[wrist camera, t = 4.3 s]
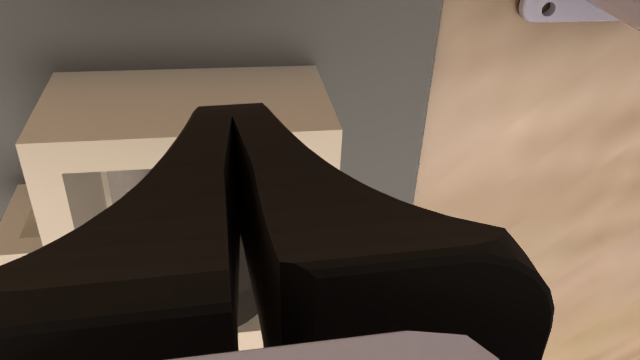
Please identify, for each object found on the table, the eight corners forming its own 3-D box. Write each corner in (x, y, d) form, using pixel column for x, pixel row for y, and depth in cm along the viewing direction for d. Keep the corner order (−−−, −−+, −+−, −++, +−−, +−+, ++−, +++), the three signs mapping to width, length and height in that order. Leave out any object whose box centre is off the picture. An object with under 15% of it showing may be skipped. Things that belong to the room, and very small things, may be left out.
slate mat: (444, -38, 21) (448, -35, 20) (395, 299, 29) (398, 305, 29) (-126, -39, 18) (-132, -35, 18) (5, 335, 27) (2, 342, 26)
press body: (315, 65, 22) (342, 129, 18) (308, 257, 26) (328, 342, 22) (-4, 73, 20) (-58, 147, 16) (51, 277, 25) (21, 373, 21)
